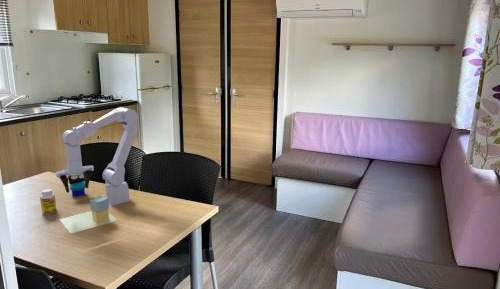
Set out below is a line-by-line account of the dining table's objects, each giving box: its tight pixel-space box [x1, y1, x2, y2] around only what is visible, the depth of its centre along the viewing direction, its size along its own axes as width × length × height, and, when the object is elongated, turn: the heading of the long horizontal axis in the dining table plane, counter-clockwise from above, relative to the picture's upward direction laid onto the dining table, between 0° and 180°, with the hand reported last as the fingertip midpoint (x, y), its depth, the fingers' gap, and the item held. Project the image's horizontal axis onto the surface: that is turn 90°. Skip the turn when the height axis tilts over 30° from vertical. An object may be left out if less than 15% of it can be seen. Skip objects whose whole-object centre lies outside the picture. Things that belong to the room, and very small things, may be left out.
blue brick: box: [89, 195, 110, 213], centre depth 152 cm, size 5×5×4 cm
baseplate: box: [59, 210, 118, 234], centre depth 154 cm, size 18×16×1 cm
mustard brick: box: [91, 209, 110, 223], centre depth 153 cm, size 5×5×4 cm
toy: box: [67, 172, 86, 197], centre depth 179 cm, size 8×9×15 cm
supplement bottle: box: [39, 188, 57, 215], centre depth 160 cm, size 6×6×10 cm
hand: (77, 189), depth 159 cm, fingers open, 7 cm apart
